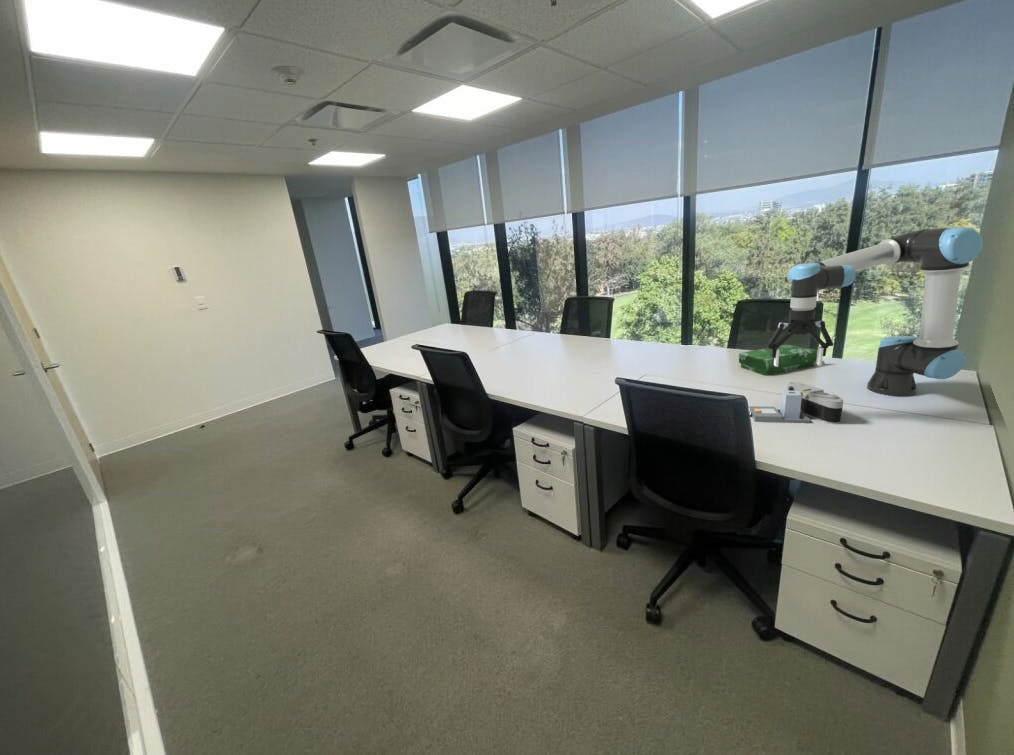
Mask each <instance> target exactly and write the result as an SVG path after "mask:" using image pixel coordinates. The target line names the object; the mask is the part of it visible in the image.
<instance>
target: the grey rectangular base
mask: <svg viewBox="0 0 1014 755" xmlns="http://www.w3.org/2000/svg"><path fill="white" fill-rule="evenodd" d="M749 408H750V412H751V416H750V417H752V419H753V421H754V422H755V423H788V424H789V423H791V424H792V423H793V424H810V423H811V419H810V418H809V416H808V415H805V414H804V413H803V412H802V411H801V410H800V417H801V418H799V419H783V417H782V416H781V414H780V410H781V408H780V409H777V408H776V407H775V406H760V405H759V406H753V405H752V406H748V409H749ZM750 412H749V413H750Z"/></svg>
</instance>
